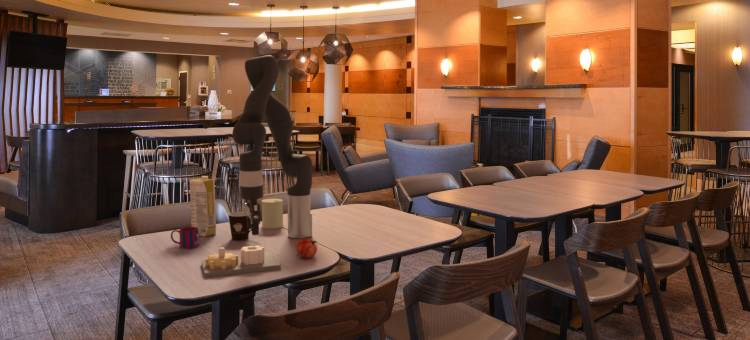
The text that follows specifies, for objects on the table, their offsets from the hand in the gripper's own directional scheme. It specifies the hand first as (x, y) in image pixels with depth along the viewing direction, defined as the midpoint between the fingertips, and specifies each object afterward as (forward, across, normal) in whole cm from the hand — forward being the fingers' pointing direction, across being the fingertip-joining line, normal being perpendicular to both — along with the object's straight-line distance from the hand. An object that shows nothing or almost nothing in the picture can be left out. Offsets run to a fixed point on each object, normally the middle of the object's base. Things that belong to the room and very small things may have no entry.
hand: (253, 231), depth 185 cm
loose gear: (+10, 0, 0) cm, 10 cm away
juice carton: (+12, +49, +12) cm, 52 cm away
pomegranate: (+12, +3, -18) cm, 22 cm away
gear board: (+12, 0, +4) cm, 13 cm away
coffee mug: (+12, +36, -2) cm, 38 cm away
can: (+13, +53, -17) cm, 57 cm away
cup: (+12, +33, +20) cm, 41 cm away
